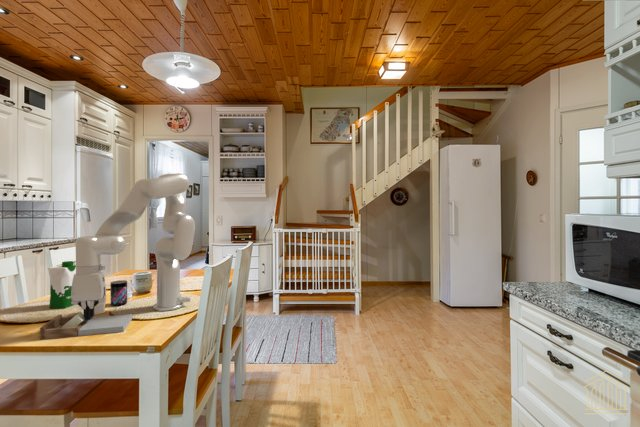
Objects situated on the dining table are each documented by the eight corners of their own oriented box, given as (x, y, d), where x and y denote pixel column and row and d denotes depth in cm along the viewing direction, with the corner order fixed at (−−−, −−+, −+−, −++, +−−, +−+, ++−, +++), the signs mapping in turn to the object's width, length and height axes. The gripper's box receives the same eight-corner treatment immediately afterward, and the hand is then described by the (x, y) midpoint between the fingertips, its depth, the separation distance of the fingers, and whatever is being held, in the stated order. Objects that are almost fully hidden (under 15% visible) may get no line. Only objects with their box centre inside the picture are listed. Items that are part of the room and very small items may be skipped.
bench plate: (132, 318, 134) (132, 314, 134) (123, 331, 121) (123, 326, 121) (91, 322, 130) (91, 317, 130) (78, 335, 116) (78, 330, 116)
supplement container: (107, 306, 149) (107, 283, 149) (115, 302, 156) (115, 280, 156) (122, 306, 150) (122, 283, 149) (130, 302, 156) (130, 280, 156)
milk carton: (65, 309, 145) (64, 263, 144) (45, 308, 145) (44, 263, 145) (80, 303, 154) (80, 260, 153) (61, 302, 154) (61, 259, 153)
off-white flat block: (87, 315, 126) (81, 310, 125) (82, 321, 120) (76, 315, 119) (73, 327, 124) (67, 321, 124) (67, 333, 119) (60, 327, 118)
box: (90, 322, 130) (90, 312, 129) (77, 336, 116) (77, 324, 116) (58, 325, 126) (58, 314, 126) (40, 339, 113) (40, 327, 113)
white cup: (110, 310, 144) (110, 294, 144) (98, 315, 138) (98, 298, 137) (95, 309, 145) (95, 293, 145) (82, 314, 138) (82, 298, 138)
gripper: (114, 266, 129) (114, 313, 129) (68, 268, 124) (69, 317, 125) (108, 270, 122) (109, 320, 122) (59, 273, 117) (60, 324, 117)
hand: (89, 318), depth 123 cm, fingers closed
